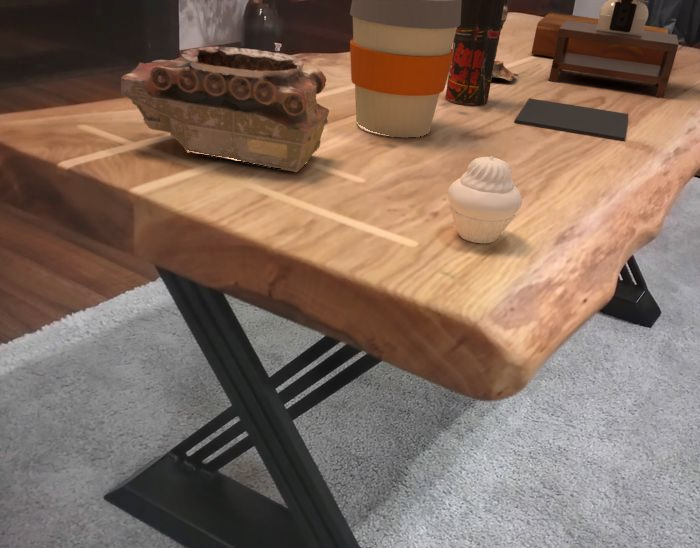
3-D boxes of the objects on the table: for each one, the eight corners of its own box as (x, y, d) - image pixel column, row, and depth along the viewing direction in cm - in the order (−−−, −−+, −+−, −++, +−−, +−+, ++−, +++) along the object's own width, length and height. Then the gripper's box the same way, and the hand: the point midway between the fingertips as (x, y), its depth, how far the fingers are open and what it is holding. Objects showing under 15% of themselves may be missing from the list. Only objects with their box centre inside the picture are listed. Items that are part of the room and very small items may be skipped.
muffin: (432, 239, 65) (444, 157, 61) (453, 217, 70) (466, 140, 66) (504, 257, 63) (521, 173, 59) (521, 232, 68) (537, 154, 64)
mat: (627, 116, 109) (628, 113, 109) (624, 141, 97) (625, 137, 97) (528, 100, 112) (529, 98, 112) (514, 122, 101) (514, 119, 100)
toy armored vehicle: (282, 196, 71) (286, 86, 66) (96, 156, 76) (87, 52, 71) (334, 158, 81) (341, 62, 76) (168, 125, 87) (165, 33, 82)
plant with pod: (460, 67, 130) (480, -68, 119) (524, 79, 125) (551, -60, 115) (440, 74, 123) (459, -68, 113) (507, 87, 119) (533, -60, 109)
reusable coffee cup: (465, 133, 94) (486, -1, 87) (397, 148, 86) (414, 2, 79) (389, 108, 101) (402, -17, 94) (319, 121, 93) (328, -15, 86)
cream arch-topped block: (643, 33, 125) (651, 0, 123) (643, 36, 122) (651, 3, 119) (596, 26, 127) (604, -6, 124) (595, 30, 123) (602, -3, 121)
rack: (662, 85, 131) (677, 34, 127) (663, 98, 122) (678, 44, 118) (555, 69, 135) (566, 20, 131) (548, 80, 126) (559, 28, 122)
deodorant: (438, 95, 111) (454, -21, 103) (475, 95, 112) (494, -18, 105) (456, 105, 106) (474, -15, 98) (494, 106, 108) (515, -12, 100)
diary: (530, 55, 144) (537, 22, 141) (544, 42, 160) (550, 11, 157) (658, 74, 139) (668, 40, 136) (659, 58, 154) (668, 27, 151)
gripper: (680, -99, 107) (643, 38, 116) (677, -98, 121) (645, 24, 130) (624, -104, 108) (592, 31, 118) (627, -103, 123) (599, 18, 132)
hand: (620, 27), depth 124 cm, fingers open, 6 cm apart
